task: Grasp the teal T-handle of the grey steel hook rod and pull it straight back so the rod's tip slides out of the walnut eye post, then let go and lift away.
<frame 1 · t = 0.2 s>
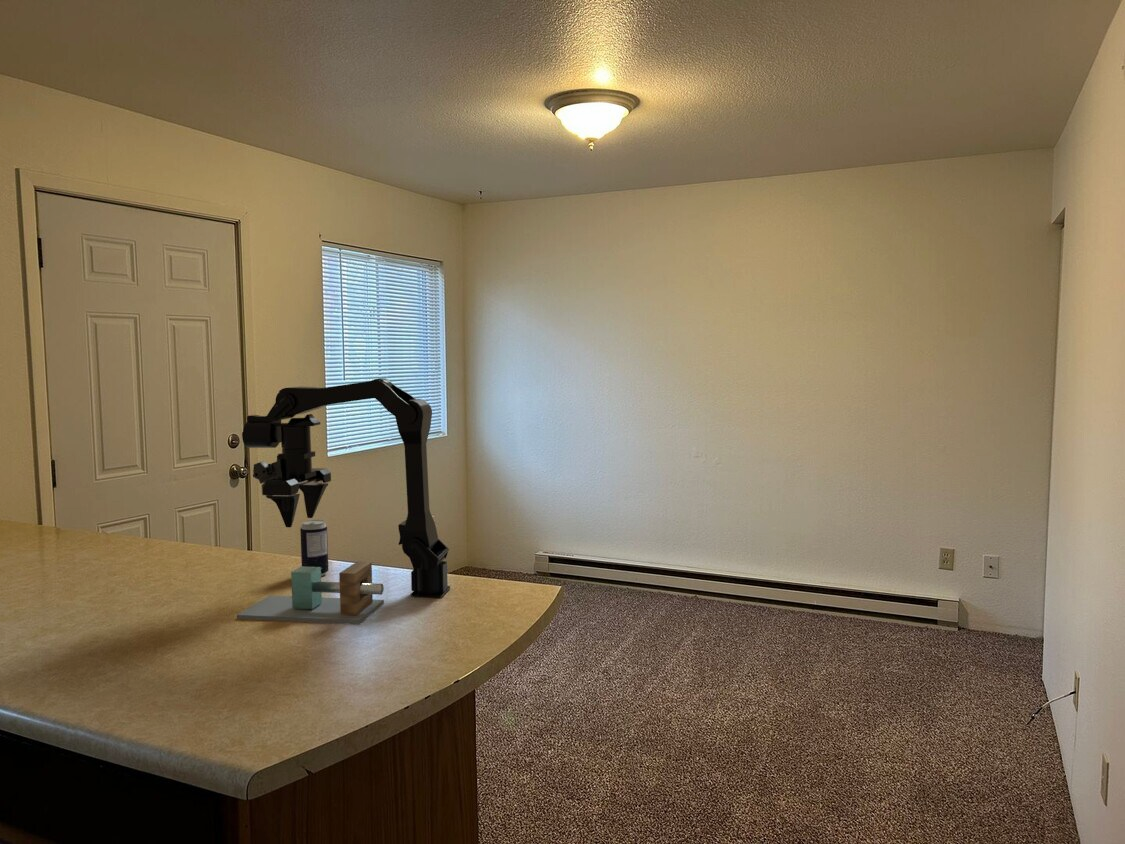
hand: (299, 522, 162), 14 cm above the countertop, fingers open, 9 cm apart
beverage can: (315, 575, 175), on the countertop
hook rod: (338, 588, 148), point 5 cm above the countertop, slide at 0.0 cm
eye post: (357, 613, 148), resting on base board
base board: (312, 611, 150), on the countertop
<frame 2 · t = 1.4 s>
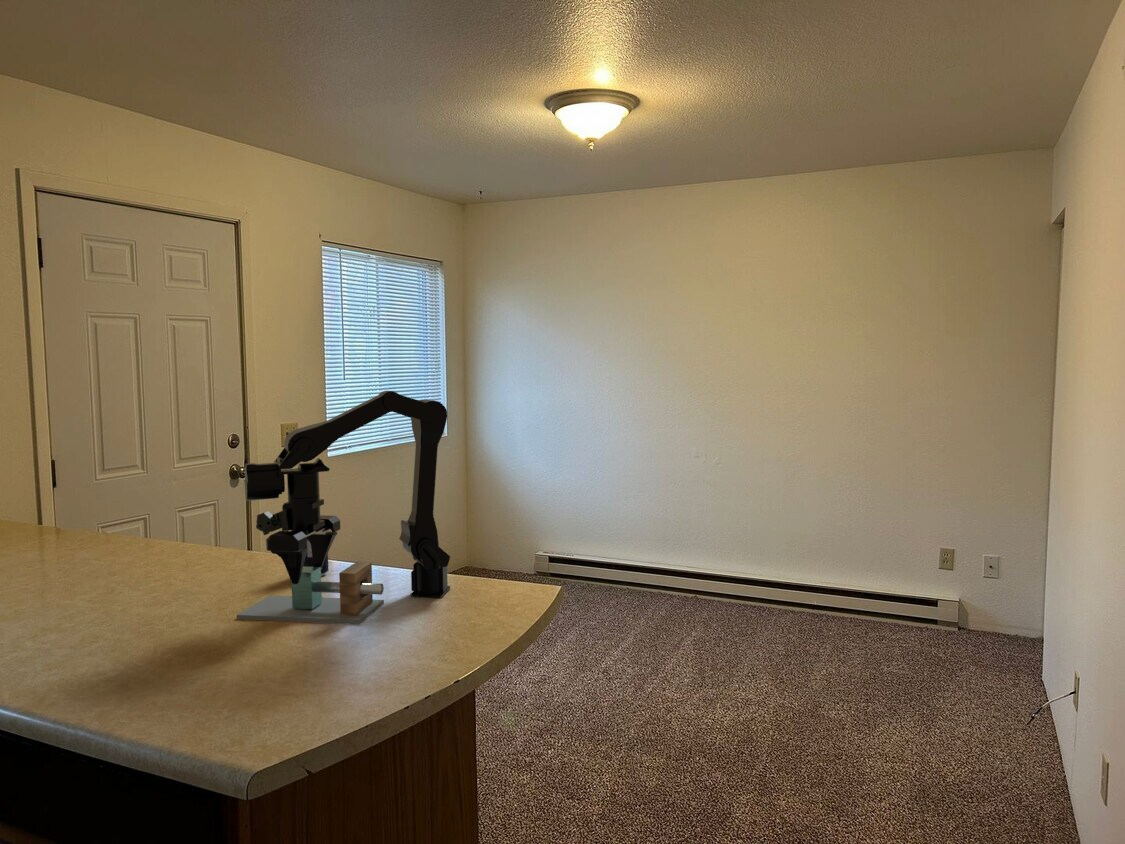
hand: (306, 576, 149), 7 cm above the countertop, fingers open, 9 cm apart
nothing on the countertop moved.
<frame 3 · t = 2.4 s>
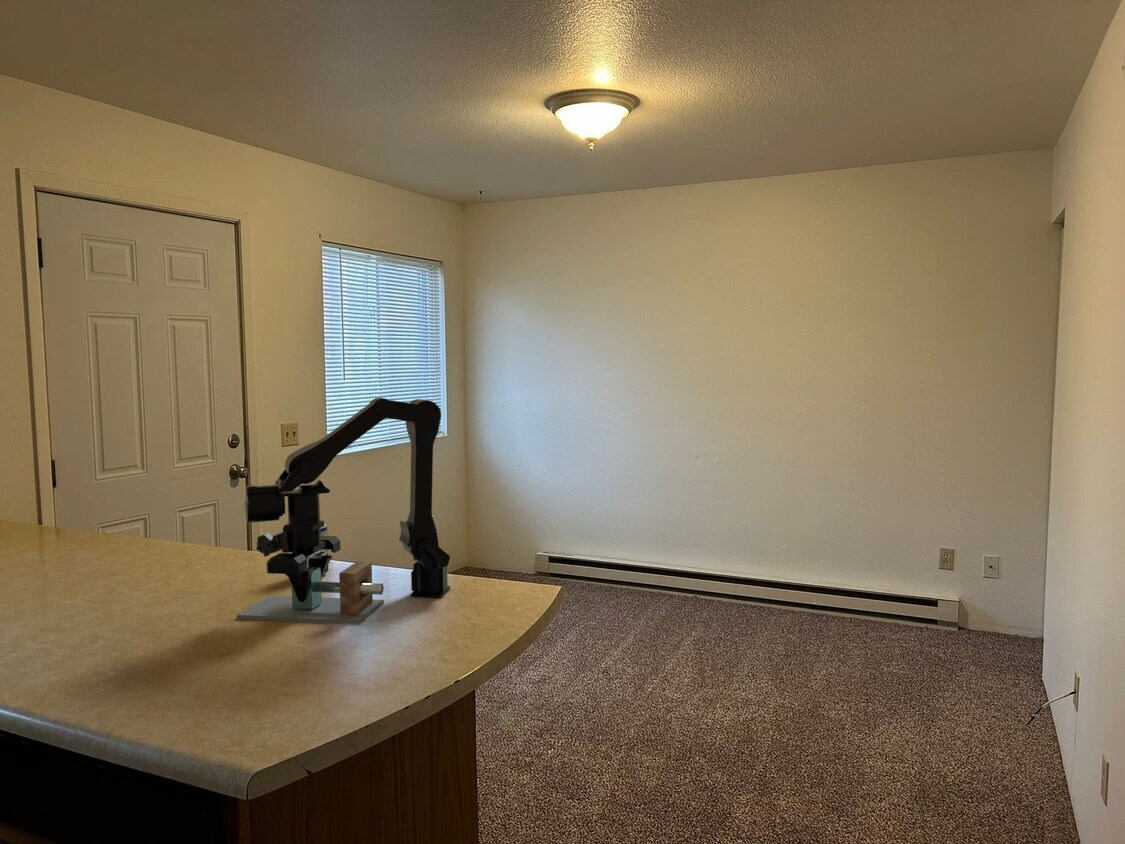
hand: (307, 598, 150), 3 cm above the countertop, fingers closed on hook rod, 4 cm apart
hook rod: (338, 588, 148), point 5 cm above the countertop, slide at 0.0 cm, touching gripper
everything else where it was.
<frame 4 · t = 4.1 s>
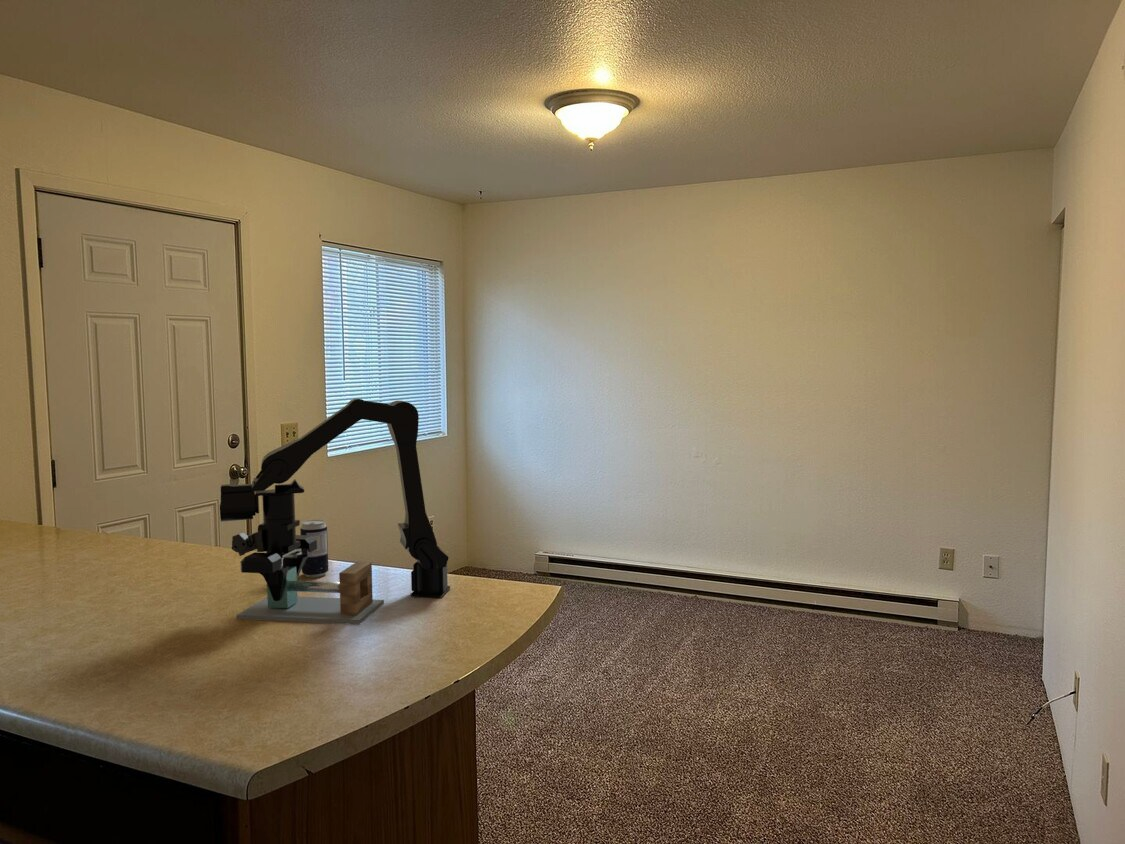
hand: (282, 597, 150), 3 cm above the countertop, fingers closed on hook rod, 4 cm apart
hook rod: (314, 587, 149), point 5 cm above the countertop, slide at 5.0 cm, touching gripper
everything else where it was.
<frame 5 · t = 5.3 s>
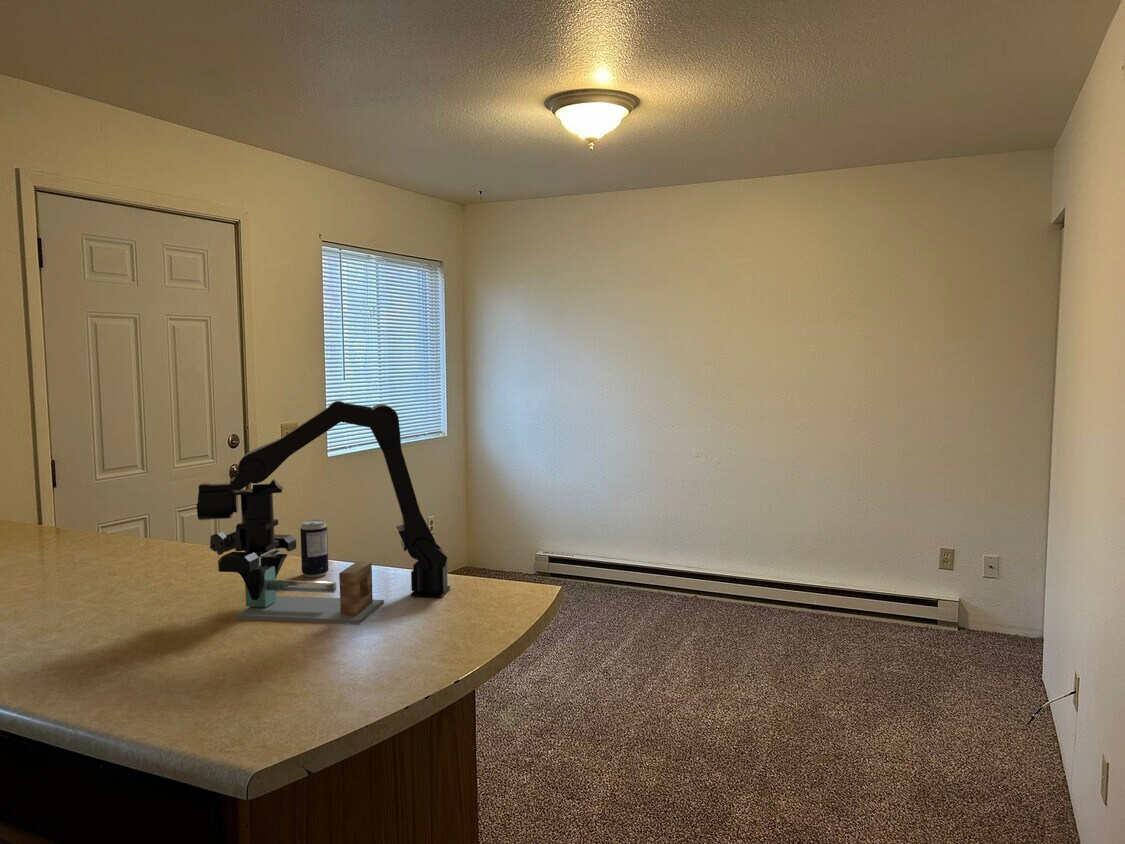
hand: (261, 596, 151), 3 cm above the countertop, fingers closed on hook rod, 4 cm apart
hook rod: (292, 586, 150), point 5 cm above the countertop, slide at 9.4 cm, touching gripper
everything else where it was.
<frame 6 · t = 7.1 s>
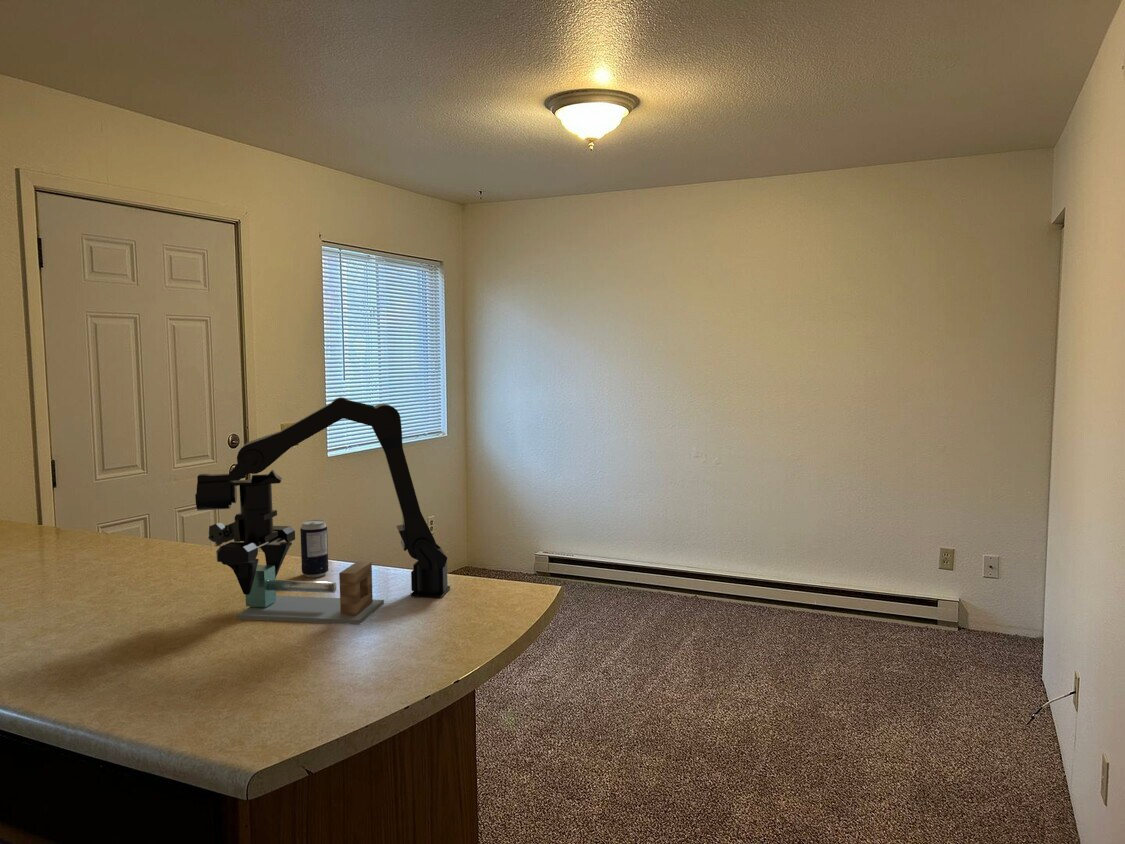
hand: (259, 587, 151), 4 cm above the countertop, fingers open, 9 cm apart
hook rod: (292, 586, 150), point 5 cm above the countertop, slide at 9.4 cm
everything else where it was.
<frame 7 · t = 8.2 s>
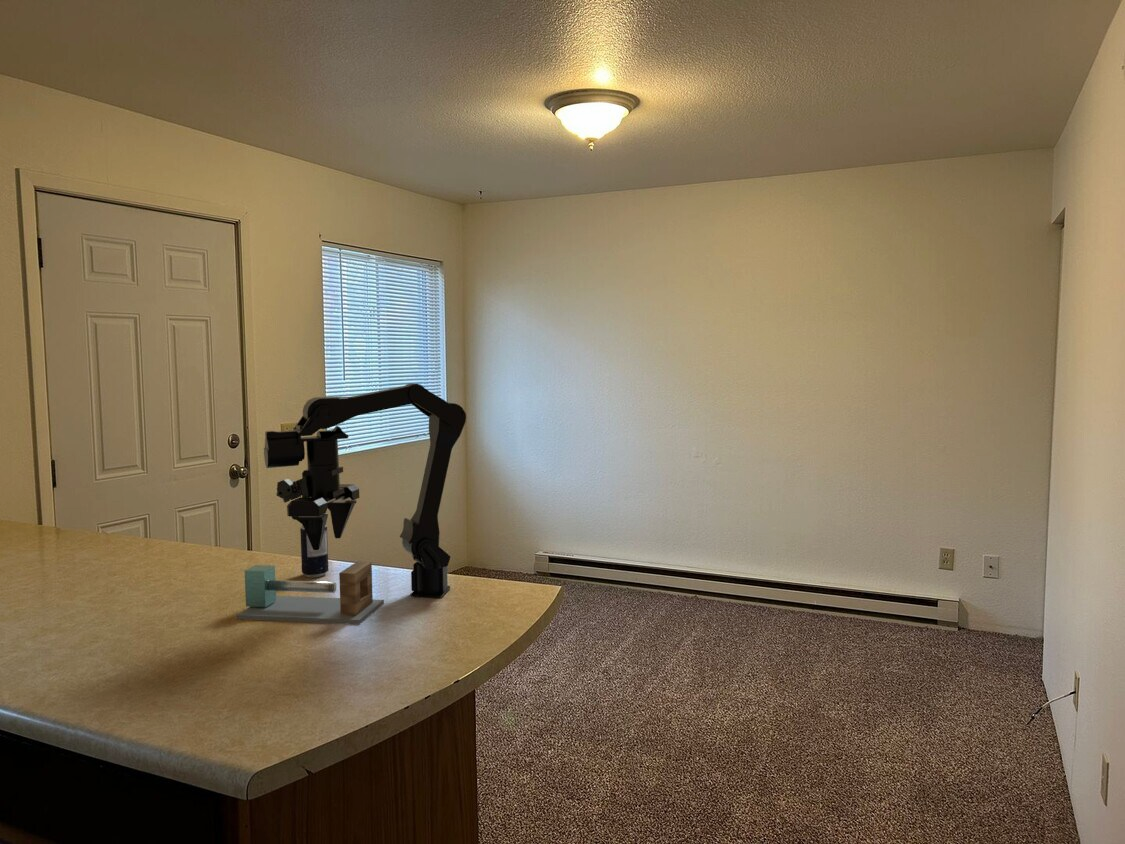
hand: (327, 543, 150), 13 cm above the countertop, fingers open, 9 cm apart
nothing on the countertop moved.
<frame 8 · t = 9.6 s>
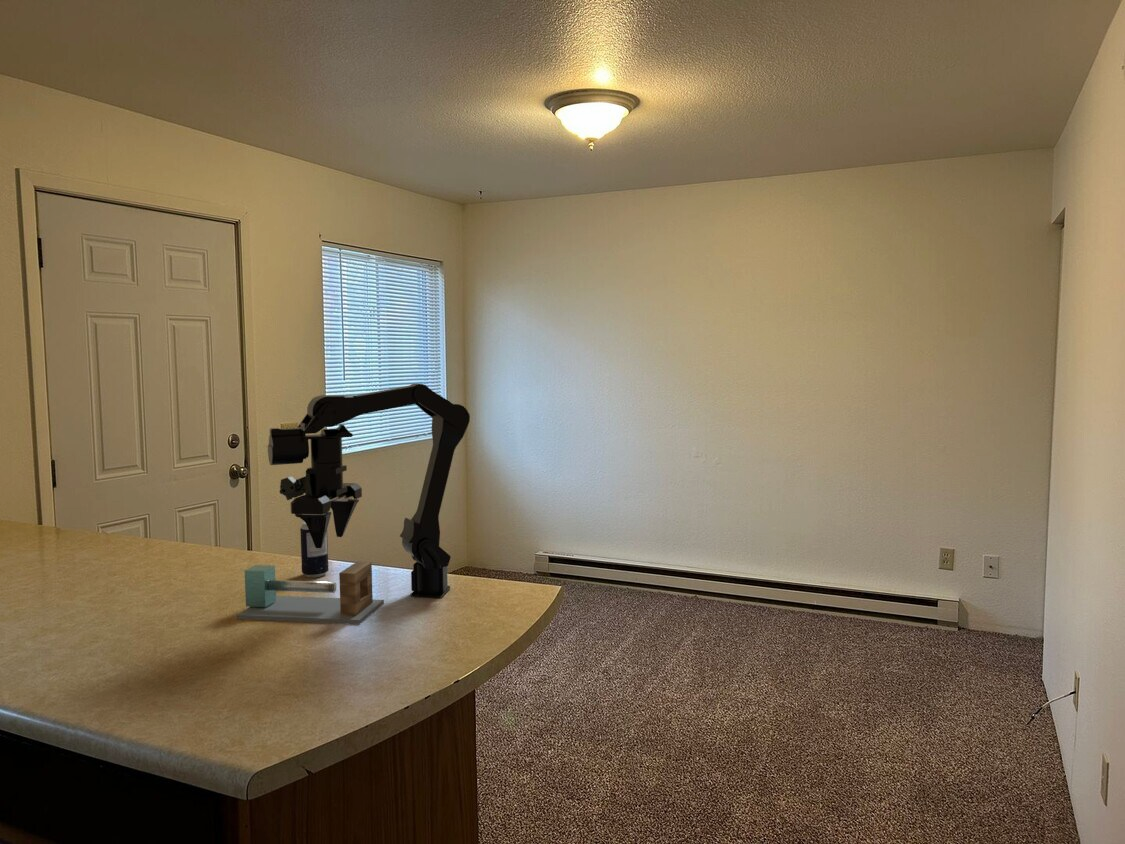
hand: (329, 542, 150), 13 cm above the countertop, fingers open, 9 cm apart
nothing on the countertop moved.
at the end: hook rod slide at 9.4 cm; the gripper is holding nothing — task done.
